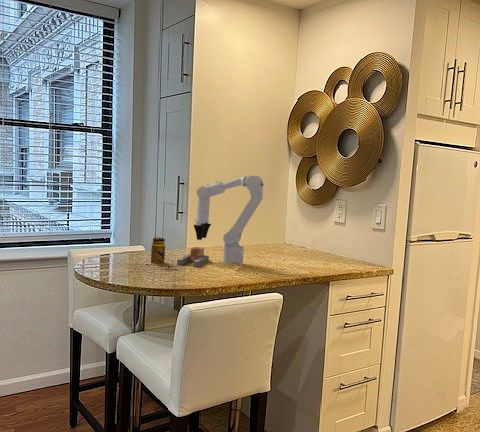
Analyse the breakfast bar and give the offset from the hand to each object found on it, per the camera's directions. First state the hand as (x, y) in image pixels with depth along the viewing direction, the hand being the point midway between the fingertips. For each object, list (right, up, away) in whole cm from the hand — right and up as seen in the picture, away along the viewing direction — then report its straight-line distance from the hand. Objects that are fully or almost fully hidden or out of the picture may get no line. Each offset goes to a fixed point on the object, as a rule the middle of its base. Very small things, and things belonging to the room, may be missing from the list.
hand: (201, 238), depth 236 cm
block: (-2, -10, -6) cm, 12 cm away
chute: (-3, -11, -12) cm, 17 cm away
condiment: (-19, -11, -17) cm, 28 cm away
